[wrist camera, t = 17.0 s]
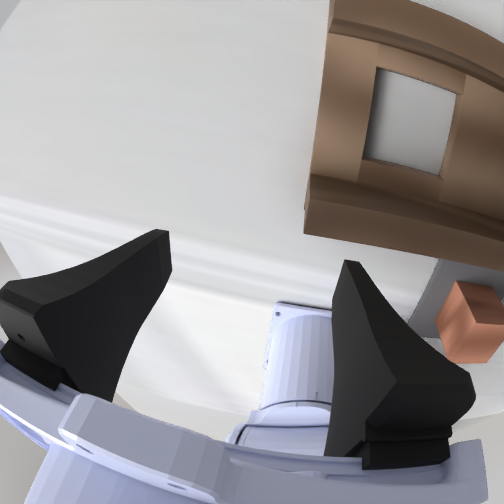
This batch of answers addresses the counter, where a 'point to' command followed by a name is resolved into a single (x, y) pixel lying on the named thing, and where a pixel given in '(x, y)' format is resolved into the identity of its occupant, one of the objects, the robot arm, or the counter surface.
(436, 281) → the mat
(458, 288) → the block
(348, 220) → the brown tray
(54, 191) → the counter surface
